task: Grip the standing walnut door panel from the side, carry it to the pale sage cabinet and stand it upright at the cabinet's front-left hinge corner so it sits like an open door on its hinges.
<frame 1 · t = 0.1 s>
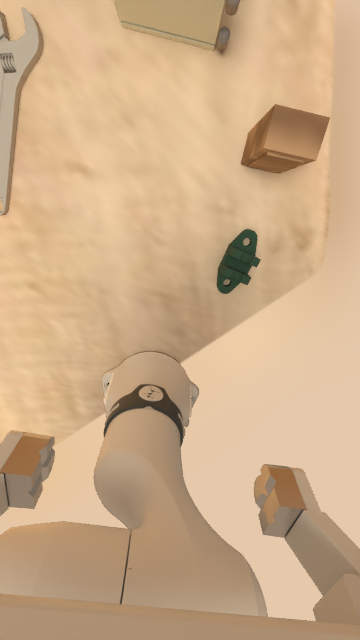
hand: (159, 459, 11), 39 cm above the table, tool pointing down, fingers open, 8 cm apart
door: (264, 153, 42), on the table
adjustable wrench: (6, 121, 40), on the table
mount: (235, 261, 48), on the table
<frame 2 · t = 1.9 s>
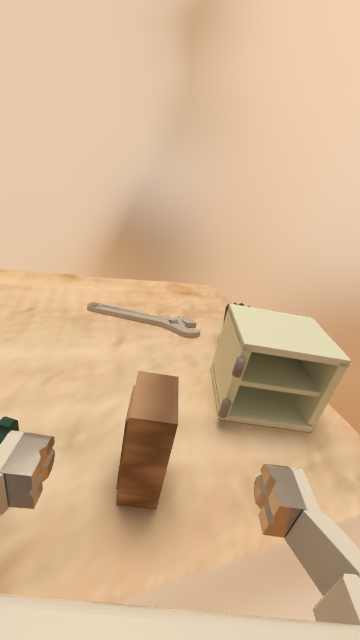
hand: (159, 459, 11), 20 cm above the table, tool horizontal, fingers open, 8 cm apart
door: (140, 478, 31), on the table
adjustable wrench: (144, 321, 64), on the table
cabinet: (255, 397, 47), on the table
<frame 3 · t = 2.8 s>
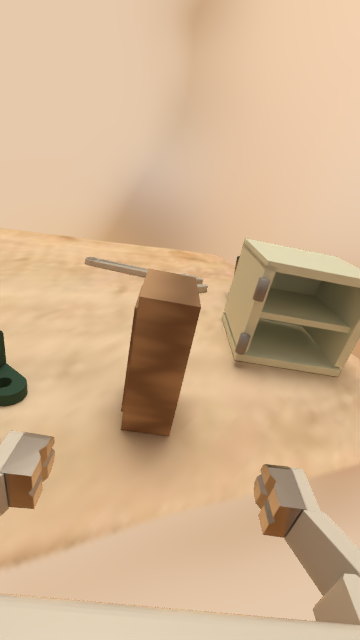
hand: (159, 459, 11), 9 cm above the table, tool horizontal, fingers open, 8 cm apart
door: (148, 406, 26), on the table
adjustable wrench: (147, 277, 59), on the table
cabinet: (273, 344, 42), on the table
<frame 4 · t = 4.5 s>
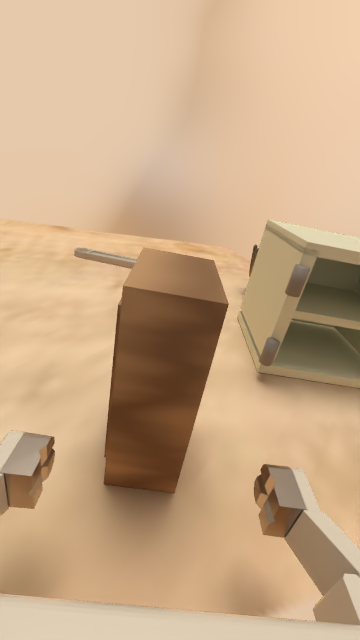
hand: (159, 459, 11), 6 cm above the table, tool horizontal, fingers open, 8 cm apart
door: (145, 443, 19), on the table
adjustable wrench: (146, 271, 51), on the table
cabinet: (302, 349, 34), on the table
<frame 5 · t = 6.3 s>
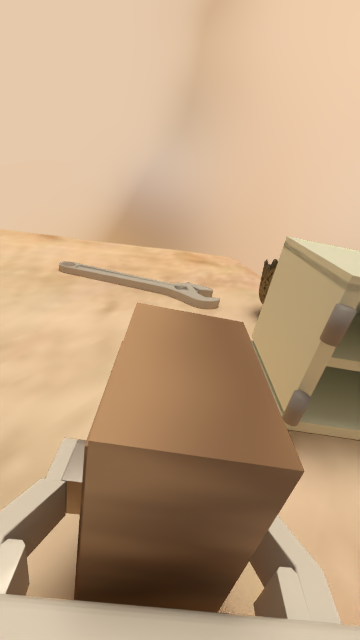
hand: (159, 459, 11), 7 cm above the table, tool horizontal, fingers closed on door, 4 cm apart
brown hollow round piece: (272, 319, 43), on the table
door: (137, 570, 13), on the table, touching gripper
adjustable wrench: (140, 288, 45), on the table
cabinet: (327, 390, 29), on the table
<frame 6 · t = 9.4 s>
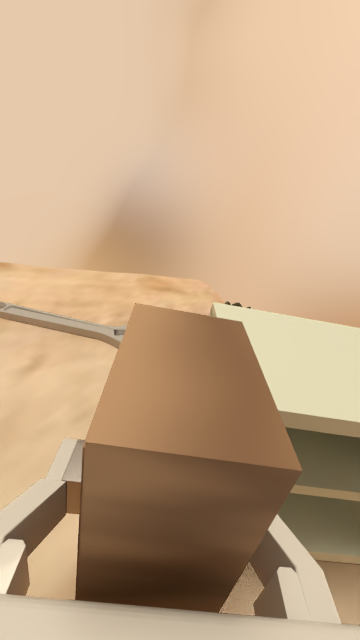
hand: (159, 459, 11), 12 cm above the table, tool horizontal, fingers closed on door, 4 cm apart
door: (138, 570, 13), point 6 cm above the table, touching gripper
adjustable wrench: (78, 331, 41), on the table
cabinet: (261, 475, 25), on the table
when the fingers open (8 cm above the table, at t = 10.5 s): door drops 1 cm, on the table.
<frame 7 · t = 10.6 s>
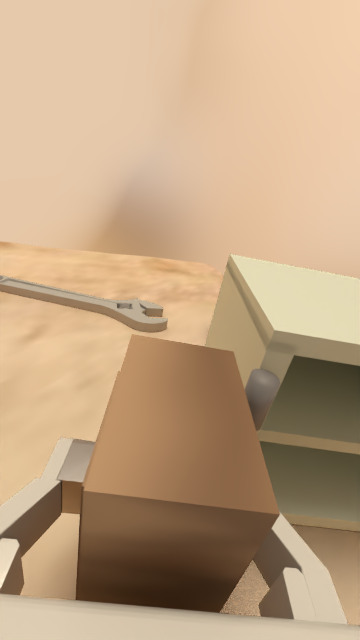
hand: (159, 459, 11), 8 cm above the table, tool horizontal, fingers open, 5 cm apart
door: (135, 582, 14), on the table
adjustable wrench: (79, 305, 39), on the table
cabinet: (282, 444, 23), on the table
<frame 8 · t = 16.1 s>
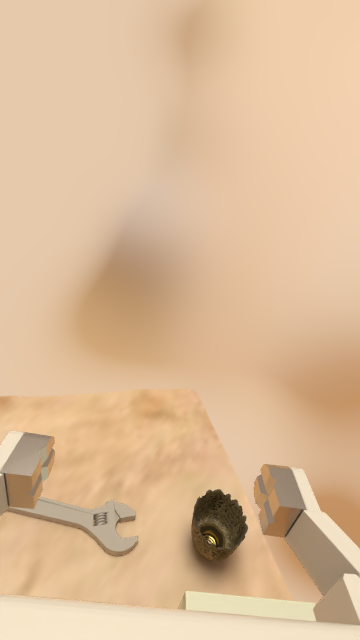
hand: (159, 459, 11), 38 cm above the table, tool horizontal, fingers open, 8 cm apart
brown hollow round piece: (207, 546, 43), on the table
adjustable wrench: (60, 511, 43), on the table
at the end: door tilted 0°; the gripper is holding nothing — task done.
